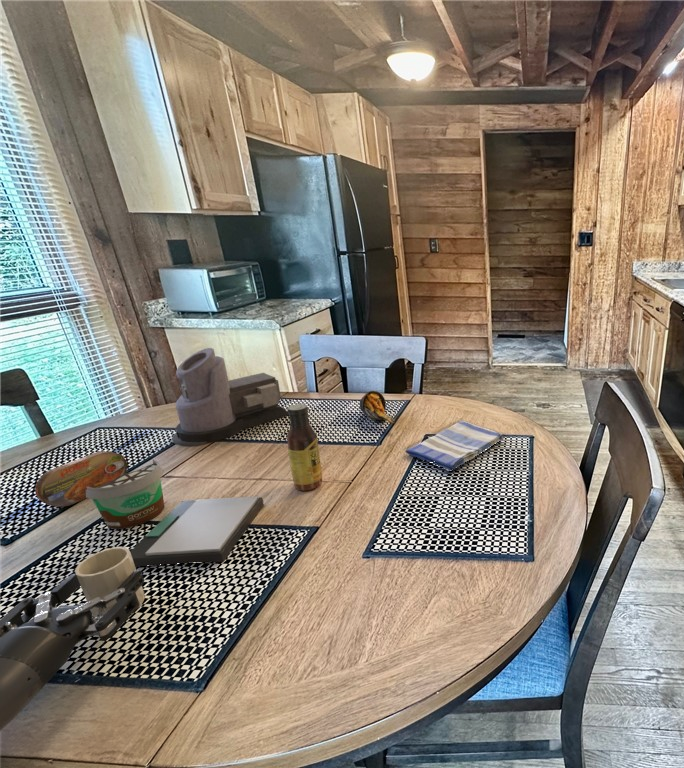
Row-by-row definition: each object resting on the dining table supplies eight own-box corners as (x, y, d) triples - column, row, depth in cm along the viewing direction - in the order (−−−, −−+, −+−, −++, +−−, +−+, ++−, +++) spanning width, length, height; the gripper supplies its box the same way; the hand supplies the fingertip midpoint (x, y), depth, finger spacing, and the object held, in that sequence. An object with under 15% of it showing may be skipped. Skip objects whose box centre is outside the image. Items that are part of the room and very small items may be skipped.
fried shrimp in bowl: (376, 394, 143) (410, 389, 132) (374, 426, 141) (408, 423, 130) (352, 390, 135) (386, 385, 125) (349, 424, 134) (384, 421, 123)
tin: (49, 515, 85) (35, 479, 83) (40, 511, 86) (25, 476, 84) (132, 477, 99) (122, 446, 96) (123, 475, 100) (113, 443, 97)
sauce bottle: (321, 490, 97) (310, 411, 90) (291, 494, 95) (278, 414, 88) (324, 475, 103) (314, 400, 96) (296, 478, 101) (284, 403, 94)
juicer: (185, 451, 111) (162, 364, 103) (163, 434, 120) (140, 352, 111) (295, 416, 135) (283, 342, 126) (269, 404, 143) (257, 334, 135)
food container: (118, 540, 79) (103, 496, 76) (98, 532, 81) (82, 488, 78) (186, 504, 90) (175, 464, 87) (167, 497, 92) (155, 458, 89)
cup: (82, 624, 62) (63, 577, 59) (113, 592, 68) (97, 548, 65) (127, 621, 63) (110, 574, 60) (153, 589, 69) (139, 545, 66)
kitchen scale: (124, 568, 73) (120, 556, 72) (184, 508, 89) (181, 498, 88) (223, 562, 75) (220, 550, 74) (263, 505, 91) (261, 494, 90)
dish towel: (505, 440, 123) (505, 432, 122) (452, 475, 105) (452, 465, 104) (460, 425, 132) (460, 417, 131) (404, 454, 113) (403, 445, 112)
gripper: (59, 654, 48) (154, 553, 63) (-85, 666, 46) (48, 559, 62) (79, 698, 51) (166, 591, 66) (-57, 711, 49) (64, 598, 64)
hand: (109, 576), depth 64 cm, fingers open, 8 cm apart
